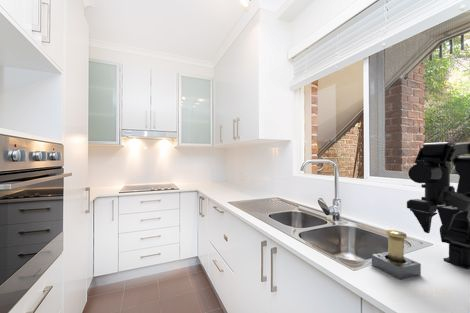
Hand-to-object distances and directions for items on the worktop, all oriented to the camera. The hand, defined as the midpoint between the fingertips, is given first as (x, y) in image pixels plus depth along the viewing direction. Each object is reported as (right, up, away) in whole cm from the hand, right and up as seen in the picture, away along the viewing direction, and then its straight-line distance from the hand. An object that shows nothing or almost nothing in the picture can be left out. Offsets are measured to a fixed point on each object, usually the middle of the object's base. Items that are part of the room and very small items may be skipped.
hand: (436, 231), depth 67 cm
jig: (-12, -13, +1) cm, 18 cm away
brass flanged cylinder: (-12, -13, +1) cm, 18 cm away
